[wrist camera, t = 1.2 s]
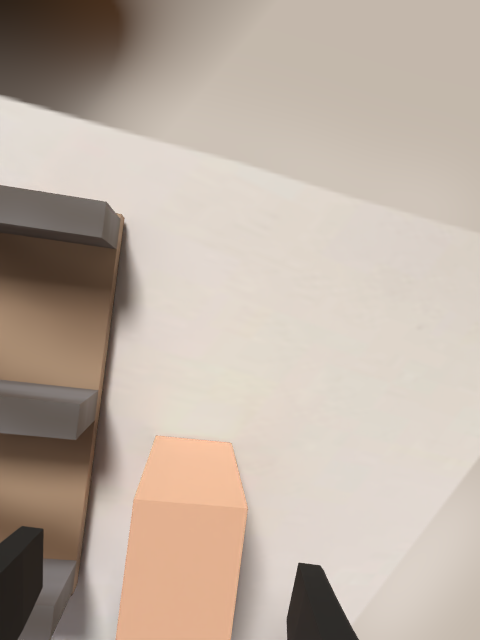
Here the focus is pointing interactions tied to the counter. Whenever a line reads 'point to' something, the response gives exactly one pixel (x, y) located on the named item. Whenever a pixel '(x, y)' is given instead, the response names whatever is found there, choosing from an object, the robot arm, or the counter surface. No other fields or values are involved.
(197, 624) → the block
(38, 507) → the rack
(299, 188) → the counter surface
